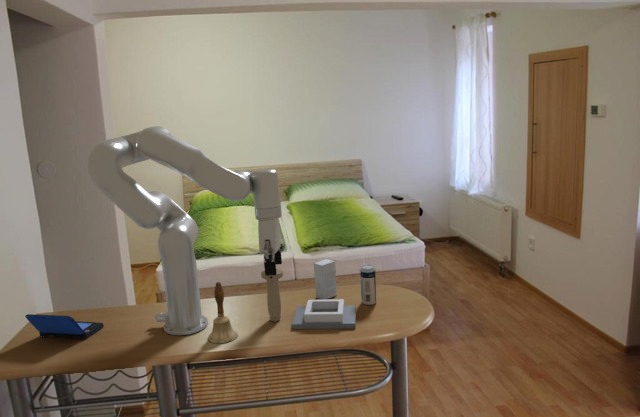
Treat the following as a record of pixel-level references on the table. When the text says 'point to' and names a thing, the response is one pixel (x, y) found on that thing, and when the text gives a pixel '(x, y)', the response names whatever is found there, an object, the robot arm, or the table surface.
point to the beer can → (368, 285)
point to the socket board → (325, 315)
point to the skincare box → (325, 279)
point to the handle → (273, 295)
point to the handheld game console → (63, 326)
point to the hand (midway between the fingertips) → (273, 269)
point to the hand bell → (221, 321)
